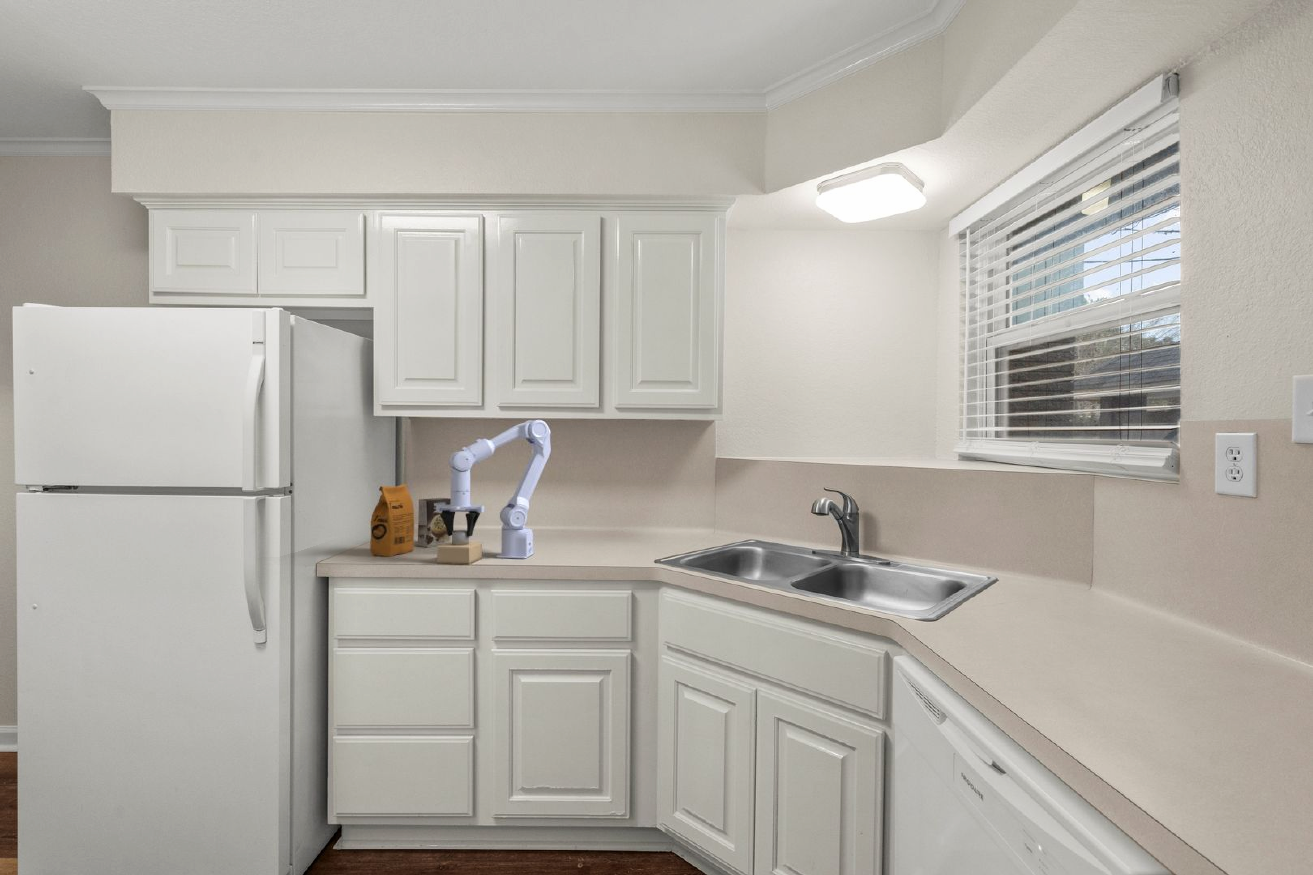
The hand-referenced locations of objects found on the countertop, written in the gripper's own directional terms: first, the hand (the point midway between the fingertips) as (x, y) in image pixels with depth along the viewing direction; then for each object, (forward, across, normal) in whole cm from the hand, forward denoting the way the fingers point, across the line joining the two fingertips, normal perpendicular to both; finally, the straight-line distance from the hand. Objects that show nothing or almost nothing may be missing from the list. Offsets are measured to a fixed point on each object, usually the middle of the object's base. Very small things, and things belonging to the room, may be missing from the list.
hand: (460, 535), depth 183 cm
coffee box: (+8, -21, +24) cm, 33 cm away
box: (+8, 0, 0) cm, 8 cm away
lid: (+3, 0, 0) cm, 3 cm away
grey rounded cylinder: (+3, 0, 0) cm, 3 cm away
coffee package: (+8, -27, +8) cm, 29 cm away
